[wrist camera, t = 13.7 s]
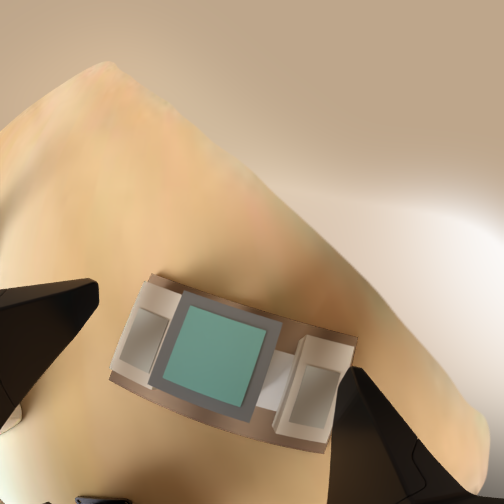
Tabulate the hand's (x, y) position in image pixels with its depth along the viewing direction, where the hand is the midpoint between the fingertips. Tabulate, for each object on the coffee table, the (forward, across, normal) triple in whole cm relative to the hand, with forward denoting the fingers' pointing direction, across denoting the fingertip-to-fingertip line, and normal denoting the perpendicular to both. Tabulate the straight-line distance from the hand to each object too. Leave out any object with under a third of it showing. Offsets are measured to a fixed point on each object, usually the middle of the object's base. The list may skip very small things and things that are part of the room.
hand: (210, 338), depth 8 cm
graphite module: (+9, 0, +9) cm, 13 cm away
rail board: (+9, 0, +10) cm, 14 cm away
